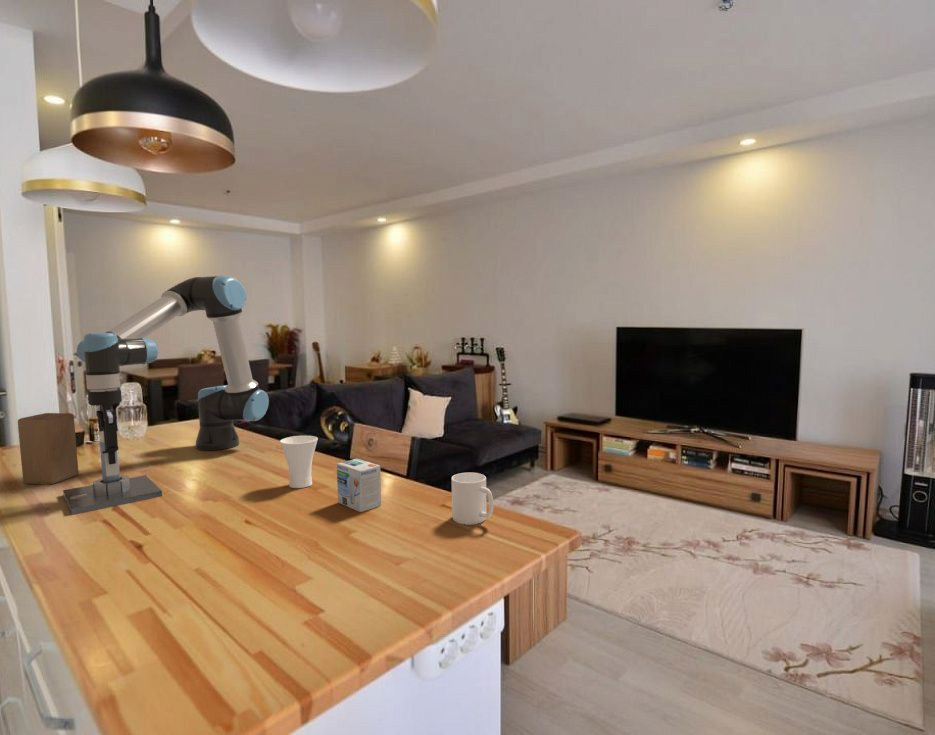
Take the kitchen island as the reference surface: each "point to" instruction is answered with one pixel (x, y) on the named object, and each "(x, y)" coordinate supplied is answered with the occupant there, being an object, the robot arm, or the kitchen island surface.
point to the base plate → (110, 493)
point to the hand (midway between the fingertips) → (110, 473)
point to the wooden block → (48, 448)
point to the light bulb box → (359, 484)
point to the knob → (102, 448)
